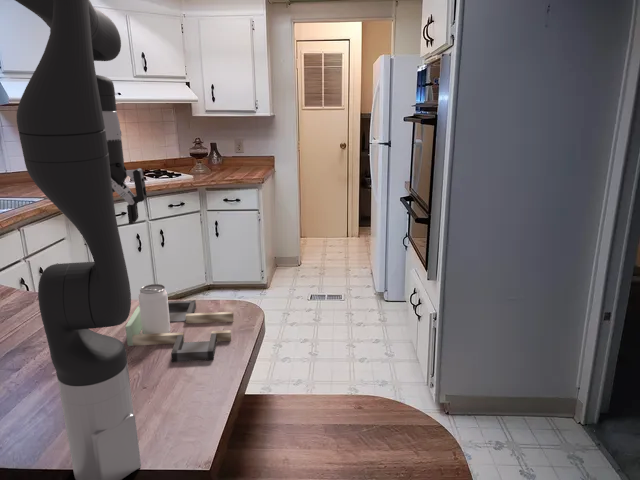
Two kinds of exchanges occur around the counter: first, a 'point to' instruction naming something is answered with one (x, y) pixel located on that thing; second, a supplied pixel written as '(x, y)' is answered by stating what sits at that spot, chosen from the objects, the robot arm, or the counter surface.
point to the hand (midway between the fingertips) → (109, 223)
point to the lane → (181, 349)
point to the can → (154, 309)
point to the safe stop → (133, 325)
